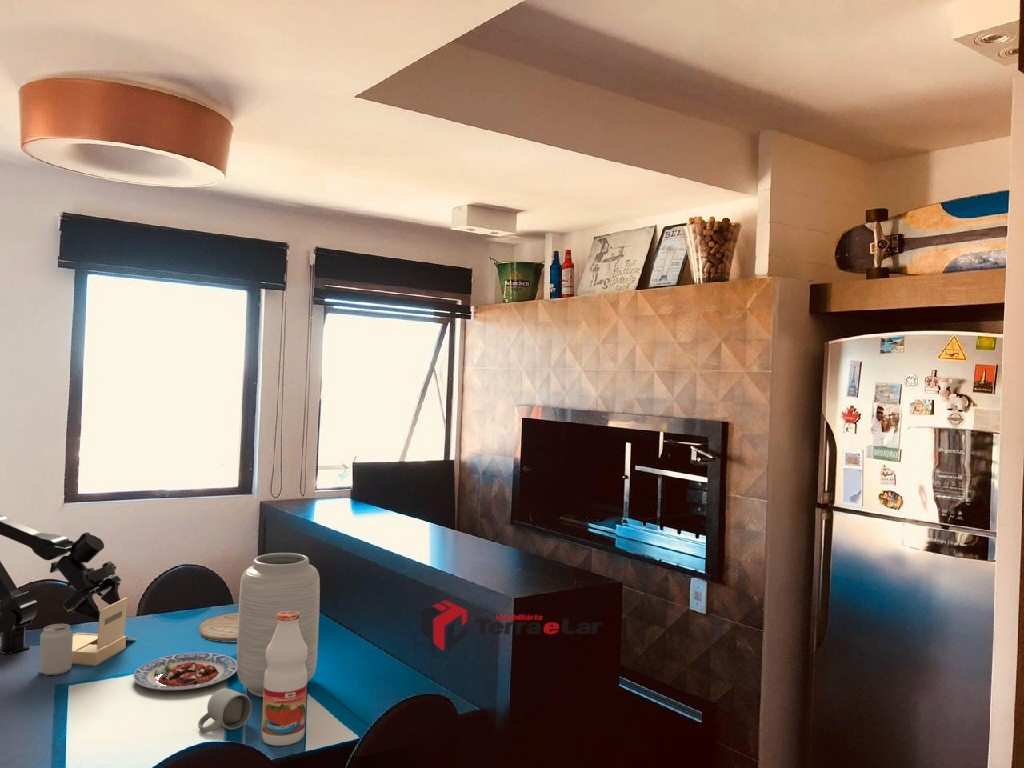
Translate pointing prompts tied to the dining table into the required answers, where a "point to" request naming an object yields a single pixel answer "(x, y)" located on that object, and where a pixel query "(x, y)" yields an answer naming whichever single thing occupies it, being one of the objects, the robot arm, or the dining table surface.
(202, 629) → the trivet
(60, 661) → the can
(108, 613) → the flap
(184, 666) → the ceramic plate
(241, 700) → the ceramic mug
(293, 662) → the fruit juice
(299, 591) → the vase
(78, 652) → the carton
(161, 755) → the dining table surface
